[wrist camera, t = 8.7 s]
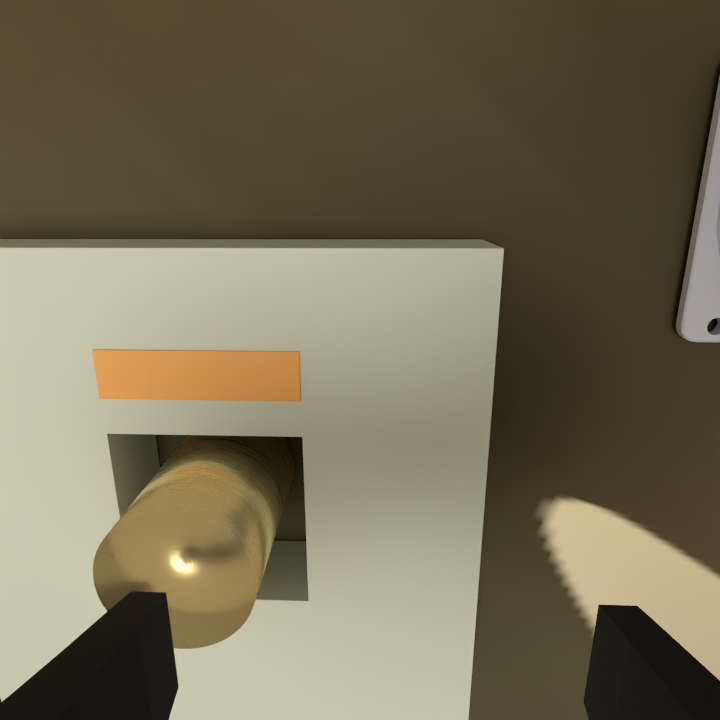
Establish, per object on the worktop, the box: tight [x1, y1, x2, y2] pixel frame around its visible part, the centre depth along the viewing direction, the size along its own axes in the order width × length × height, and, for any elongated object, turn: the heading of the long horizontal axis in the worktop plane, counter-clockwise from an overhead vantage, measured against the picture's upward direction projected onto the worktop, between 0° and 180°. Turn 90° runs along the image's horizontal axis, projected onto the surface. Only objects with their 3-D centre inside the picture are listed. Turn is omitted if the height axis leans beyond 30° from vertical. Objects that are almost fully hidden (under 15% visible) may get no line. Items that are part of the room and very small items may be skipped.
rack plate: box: [0, 239, 504, 720], centre depth 17 cm, size 16×16×3 cm
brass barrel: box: [93, 435, 295, 649], centre depth 16 cm, size 4×4×6 cm
